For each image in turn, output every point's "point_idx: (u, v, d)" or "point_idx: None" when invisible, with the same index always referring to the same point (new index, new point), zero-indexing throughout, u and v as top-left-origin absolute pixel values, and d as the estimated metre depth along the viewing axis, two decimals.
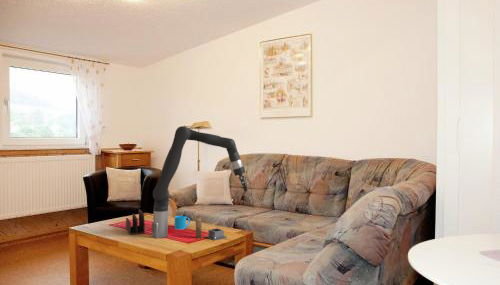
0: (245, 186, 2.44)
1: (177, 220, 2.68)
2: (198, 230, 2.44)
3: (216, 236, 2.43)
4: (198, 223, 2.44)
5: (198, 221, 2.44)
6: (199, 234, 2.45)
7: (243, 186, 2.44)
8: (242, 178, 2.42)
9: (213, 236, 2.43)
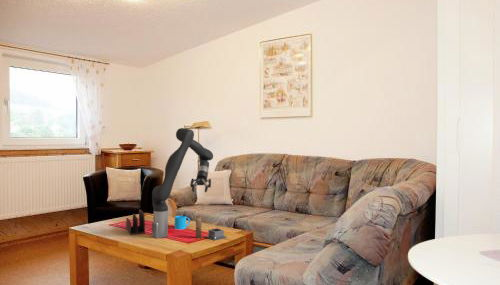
0: (207, 188, 2.62)
1: (177, 220, 2.68)
2: (198, 230, 2.44)
3: (216, 236, 2.43)
4: (198, 223, 2.44)
5: (198, 221, 2.44)
6: (199, 234, 2.45)
7: (207, 186, 2.62)
8: (210, 181, 2.66)
9: (213, 236, 2.43)
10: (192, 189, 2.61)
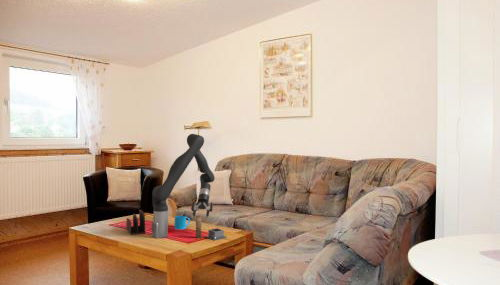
0: None
1: (177, 220, 2.68)
2: (198, 230, 2.44)
3: (216, 236, 2.43)
4: (198, 223, 2.44)
5: (198, 221, 2.44)
6: (199, 234, 2.45)
7: (209, 211, 2.54)
8: (212, 205, 2.58)
9: (213, 236, 2.43)
10: (193, 213, 2.53)
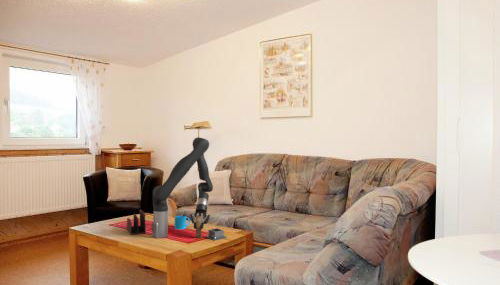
0: (203, 225, 2.47)
1: (177, 220, 2.68)
2: (198, 230, 2.44)
3: (216, 236, 2.43)
4: (198, 223, 2.44)
5: (198, 221, 2.44)
6: (199, 234, 2.45)
7: (203, 223, 2.46)
8: (209, 218, 2.50)
9: (213, 236, 2.43)
10: (194, 226, 2.45)
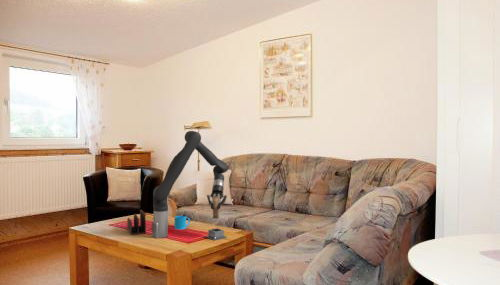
0: (220, 205, 2.47)
1: (177, 220, 2.68)
2: (215, 210, 2.45)
3: (216, 236, 2.43)
4: (215, 203, 2.45)
5: (215, 201, 2.45)
6: (216, 214, 2.45)
7: (220, 203, 2.47)
8: (226, 198, 2.51)
9: (213, 236, 2.43)
10: (211, 206, 2.45)
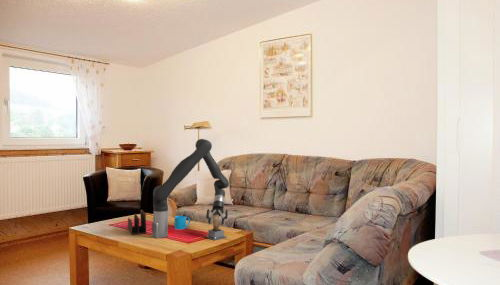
0: None
1: (177, 220, 2.68)
2: (215, 229, 2.45)
3: (216, 236, 2.43)
4: (215, 222, 2.45)
5: (215, 220, 2.45)
6: None
7: (224, 218, 2.47)
8: (227, 213, 2.51)
9: (213, 236, 2.43)
10: (208, 221, 2.46)
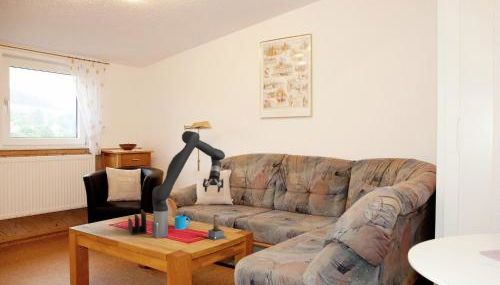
0: None
1: (177, 220, 2.68)
2: (216, 229, 2.45)
3: (216, 236, 2.43)
4: (216, 222, 2.45)
5: (216, 220, 2.45)
6: None
7: (220, 187, 2.61)
8: (223, 182, 2.65)
9: (213, 236, 2.43)
10: (205, 189, 2.59)
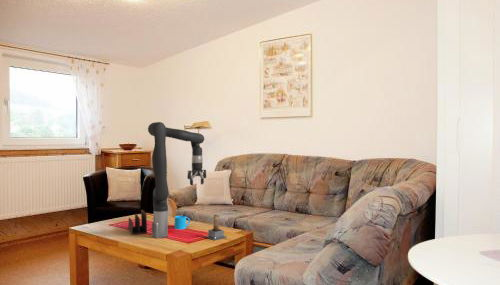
0: None
1: (177, 220, 2.68)
2: (216, 229, 2.45)
3: (216, 236, 2.43)
4: (216, 222, 2.45)
5: (216, 220, 2.45)
6: None
7: (203, 179, 2.69)
8: None
9: (213, 236, 2.43)
10: (191, 183, 2.62)
